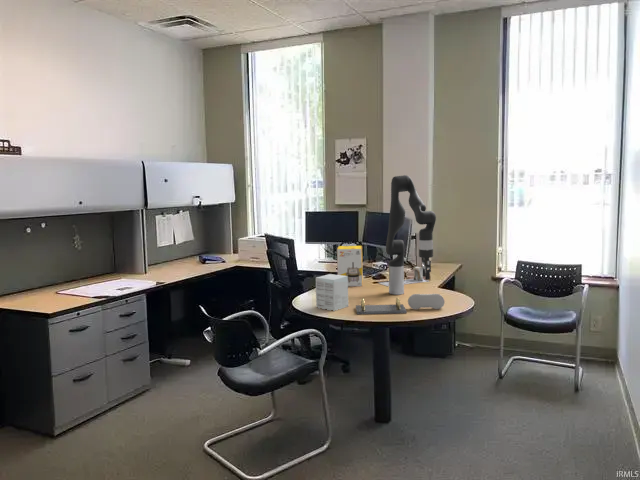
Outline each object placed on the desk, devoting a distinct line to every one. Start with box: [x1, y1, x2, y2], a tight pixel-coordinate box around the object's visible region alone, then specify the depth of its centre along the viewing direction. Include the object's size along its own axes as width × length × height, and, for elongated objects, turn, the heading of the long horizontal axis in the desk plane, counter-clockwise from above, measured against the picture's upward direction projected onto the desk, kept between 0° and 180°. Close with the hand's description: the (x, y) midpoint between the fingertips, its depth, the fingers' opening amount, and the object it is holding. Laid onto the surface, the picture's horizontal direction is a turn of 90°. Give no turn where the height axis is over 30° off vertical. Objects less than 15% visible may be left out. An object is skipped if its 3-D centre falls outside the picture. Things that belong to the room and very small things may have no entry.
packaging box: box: [336, 245, 364, 287], centre depth 362 cm, size 16×16×25 cm
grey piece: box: [407, 293, 446, 310], centre depth 289 cm, size 20×2×8 cm, turn 86°
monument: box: [378, 266, 431, 287], centre depth 362 cm, size 12×33×10 cm, turn 113°
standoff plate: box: [355, 297, 407, 315], centre depth 288 cm, size 14×26×6 cm, turn 89°
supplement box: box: [315, 273, 349, 312], centre depth 298 cm, size 13×13×18 cm
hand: (426, 278), depth 288 cm, fingers open, 8 cm apart
